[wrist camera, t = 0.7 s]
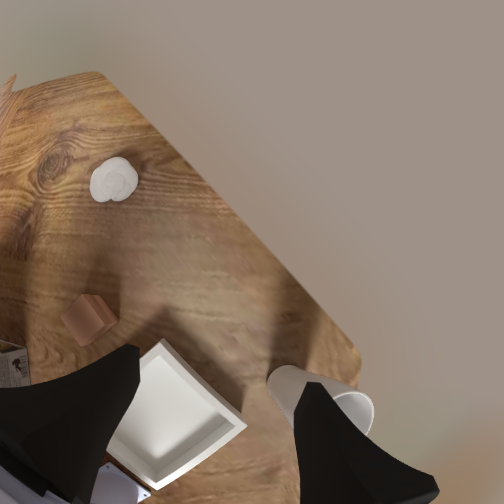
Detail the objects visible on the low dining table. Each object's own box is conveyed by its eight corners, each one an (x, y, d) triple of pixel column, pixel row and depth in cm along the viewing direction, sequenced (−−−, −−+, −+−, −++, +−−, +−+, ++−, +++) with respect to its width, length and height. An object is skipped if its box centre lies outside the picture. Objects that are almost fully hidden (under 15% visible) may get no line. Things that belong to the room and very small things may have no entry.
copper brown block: (98, 340, 28) (81, 347, 22) (79, 315, 28) (59, 316, 22) (119, 321, 29) (104, 324, 24) (100, 295, 29) (82, 293, 24)
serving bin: (159, 474, 26) (157, 490, 22) (83, 407, 26) (72, 417, 22) (241, 413, 30) (247, 425, 26) (163, 337, 30) (159, 342, 26)
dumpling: (136, 164, 33) (131, 149, 29) (143, 196, 33) (139, 184, 29) (90, 180, 31) (81, 167, 28) (95, 214, 31) (85, 203, 27)
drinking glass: (257, 363, 32) (304, 402, 18) (306, 354, 34) (376, 379, 19) (262, 410, 31) (308, 467, 17) (310, 399, 33) (374, 441, 18)
